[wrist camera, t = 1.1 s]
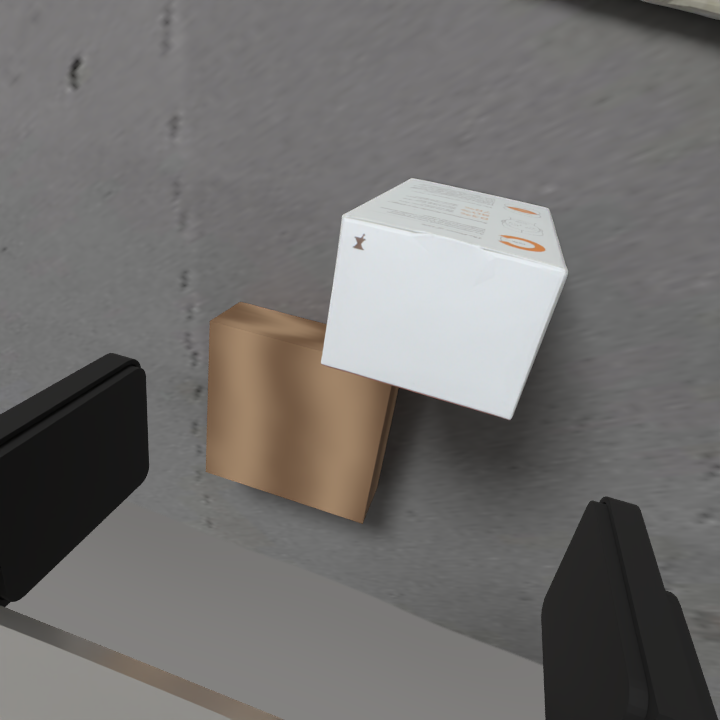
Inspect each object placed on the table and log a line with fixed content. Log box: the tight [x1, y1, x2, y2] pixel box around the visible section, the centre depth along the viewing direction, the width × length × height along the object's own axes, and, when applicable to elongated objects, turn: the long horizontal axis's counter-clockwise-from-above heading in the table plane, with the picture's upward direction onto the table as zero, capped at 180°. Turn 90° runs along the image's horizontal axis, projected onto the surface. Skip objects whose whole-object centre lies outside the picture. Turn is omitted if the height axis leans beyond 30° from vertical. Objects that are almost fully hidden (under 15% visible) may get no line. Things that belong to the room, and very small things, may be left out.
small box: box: [321, 178, 568, 420], centre depth 25 cm, size 8×6×13 cm
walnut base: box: [206, 302, 399, 524], centre depth 36 cm, size 12×12×4 cm
